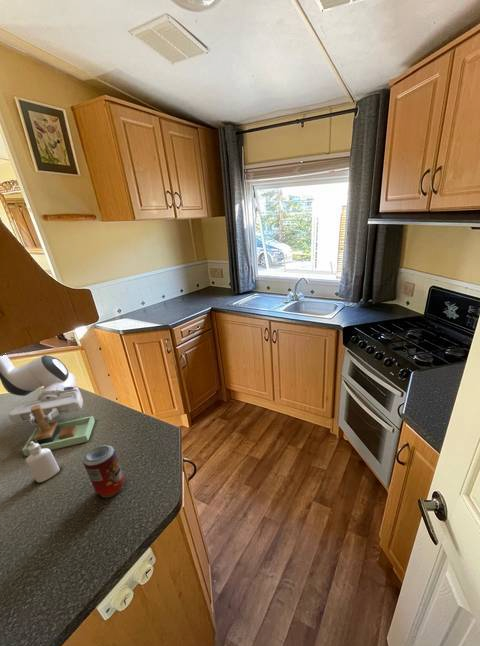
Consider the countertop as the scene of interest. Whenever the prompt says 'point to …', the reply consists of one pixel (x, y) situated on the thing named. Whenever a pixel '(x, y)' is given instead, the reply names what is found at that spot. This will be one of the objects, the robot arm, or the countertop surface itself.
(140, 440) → the countertop surface
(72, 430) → the wooden block
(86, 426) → the tray
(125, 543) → the countertop surface
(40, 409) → the brush
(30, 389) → the robot arm
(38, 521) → the countertop surface
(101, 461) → the soda can
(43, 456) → the eye dropper bottle
